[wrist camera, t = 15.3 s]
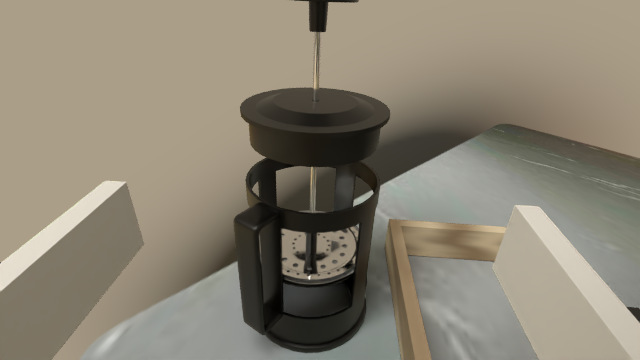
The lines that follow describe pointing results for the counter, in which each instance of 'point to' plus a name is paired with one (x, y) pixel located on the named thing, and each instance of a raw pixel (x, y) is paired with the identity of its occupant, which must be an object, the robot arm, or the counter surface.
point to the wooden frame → (431, 243)
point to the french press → (310, 226)
